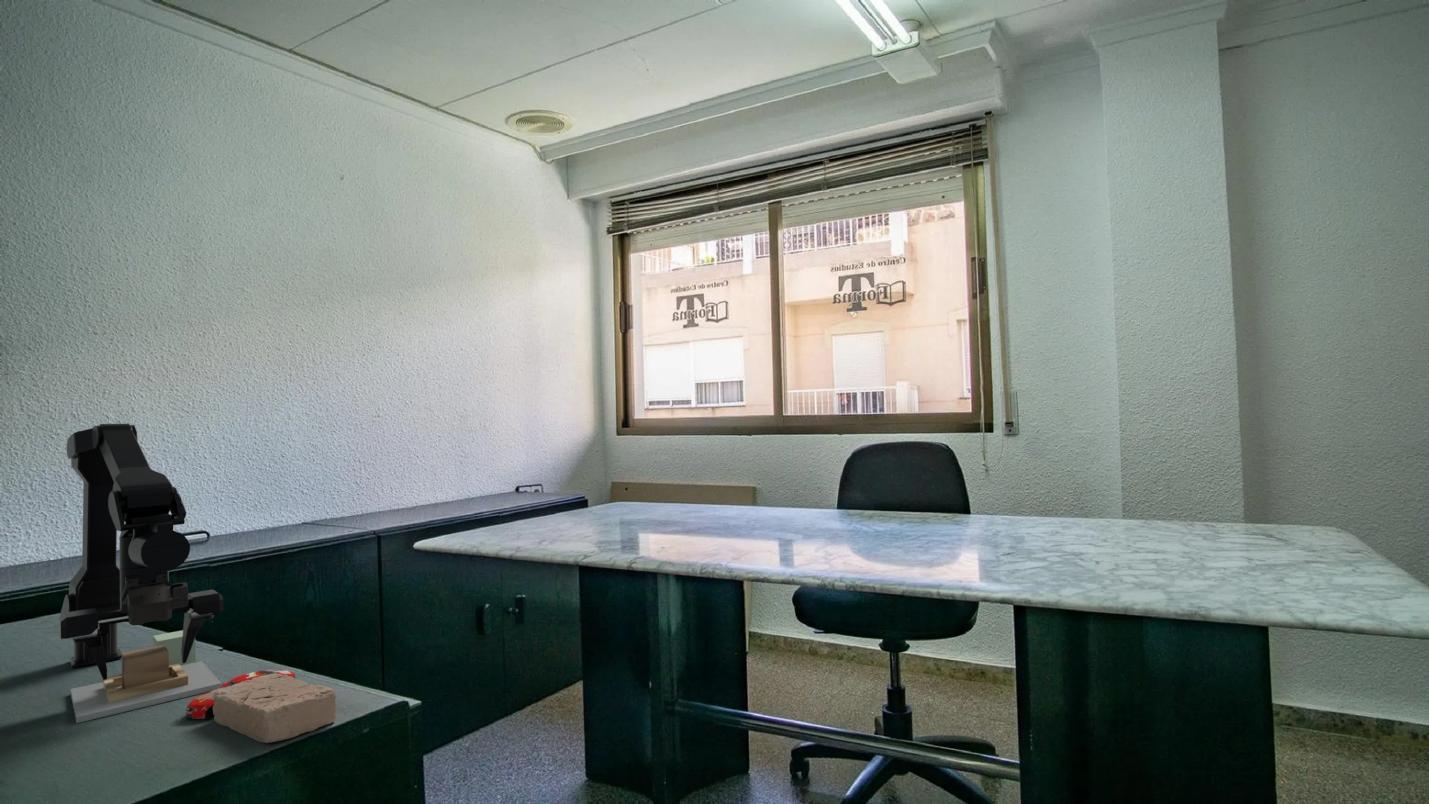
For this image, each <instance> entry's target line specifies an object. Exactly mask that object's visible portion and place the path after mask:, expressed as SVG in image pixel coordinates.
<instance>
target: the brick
mask: <svg viewBox="0 0 1429 804" xmlns="http://www.w3.org/2000/svg"><path fill="white" fill-rule="evenodd" d="M336 698H337V694H336V692H335V690H334V689H333V688H332V687H328V686H325V685H319V684H309V683H308V682H305V681H303V680H299V679H298V678H296V679H295V678H293V677H291V676H287V675H281V674H269V675H264V676H260V677H257V678H253V679H251V680H246V681H244V682H241V683H238V684H234V685H232V686H229V687H226V688H223V689H219V690H217V691H215V693H214V696H213V699H214V700H215V703H214V706H213V714H214V715H215V716H214V718H213V719H214V722H216V723H217V724H219V725H221V726H225V727H228V728H230V730H233V731H236V732H237V733H239V734H242V735H243V736H244V735H245V736H246V737H248V738H250V739H253V740H256V741H257V742H261V743H266V744H270V743H274V742H275V743H276V742H280V741H281V742H282V741H284V740H289V739H291V738H295V737H298V736H299V735H301V734H305V733H307V732H313V731H316V730H317V729H319V728H321V727H323V726H326V725H330V724H333V723H334V722H335V721H336V716H337V715H336V714H337V704H336ZM315 729H316V730H315Z"/></svg>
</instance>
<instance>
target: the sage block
mask: <svg viewBox="0 0 1429 804" xmlns="http://www.w3.org/2000/svg"><path fill="white" fill-rule="evenodd" d="M182 637H183V629H182V630H177V631H172V632H166V633H162V634H161V633H160V634H156V635H155V634H154V635H152V645H153V646H152V647H156V646H161V645H164V646H165V647H166V648H167V650H168V651H169V666H170V665H175V664H179V665H180V666H181V665H186V664H190V663H195V662H197V661H196V638H195V639H194V642H193V645H192V648H191V650H190V653H189V656H188V659H187V661H186V663H182V657H181V648H182Z"/></svg>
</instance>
